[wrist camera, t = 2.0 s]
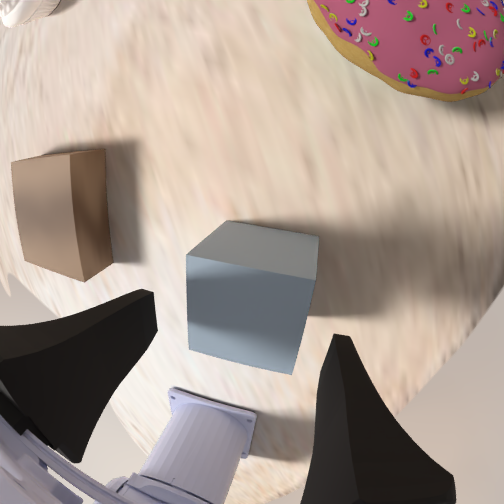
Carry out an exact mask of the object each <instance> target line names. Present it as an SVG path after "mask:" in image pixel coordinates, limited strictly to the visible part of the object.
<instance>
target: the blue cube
mask: <svg viewBox="0 0 504 504" xmlns="http://www.w3.org/2000/svg"><path fill="white" fill-rule="evenodd" d="M318 247H319V236H313V235H308V234H302V233H297V232H291V231H286V230H280V229H274V228H268V227H263V226H257V225H251V224H245V223H239V222H233V221H225V222H224V223H223V224H222V225H221V226H219V227H218V228H217V229H216V230H215V231H213V232H212V233H211V234H210V235H209V236H207V237H206V238H205V239H204V240H203V241H202V242H200V243H199V244H198V245H197V246H196V247H195V248H193V249H192V250H191V251H190V252H189V253H188V254H186V286H187V321H188V342H189V350H193V351H196V352H200V353H203V354H206V355H210V356H213V357H217V358H221V359H225V360H228V361H232V362H236V363H240V364H244V365H248V366H252V367H257V368H261V369H265V370H270V371H275V372H279V373H284V374H289V375H292V372H293V369H294V365H295V362H296V358H297V355H298V351H299V347H300V343H301V340H302V336H303V332H304V328H305V324H306V320H307V316H308V312H309V308H310V304H311V299H312V295H313V291H314V286H315V282H316V273H317V261H318Z"/></svg>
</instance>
